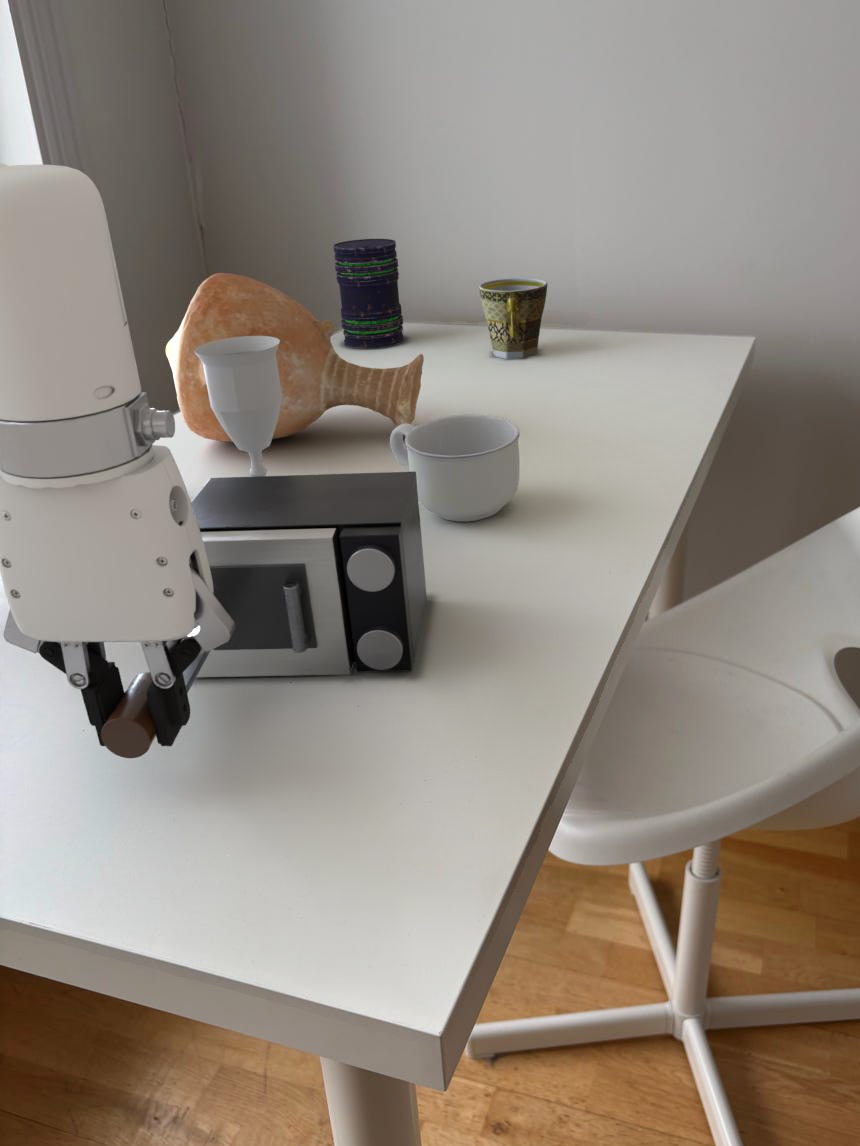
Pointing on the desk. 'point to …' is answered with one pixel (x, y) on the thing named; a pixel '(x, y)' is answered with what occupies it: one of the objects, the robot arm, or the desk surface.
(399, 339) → the storage jar
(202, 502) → the microwave
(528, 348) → the ceramic cup
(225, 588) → the microwave door
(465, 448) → the teacup
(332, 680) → the desk surface
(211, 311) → the jug
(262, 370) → the chalice
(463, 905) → the desk surface
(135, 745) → the knife
